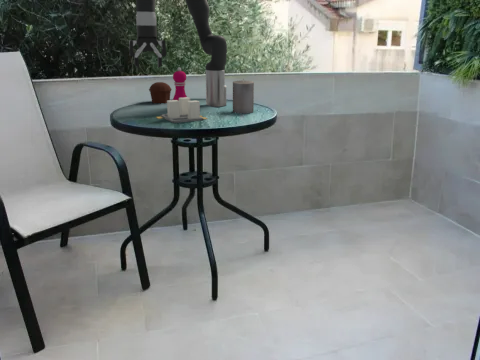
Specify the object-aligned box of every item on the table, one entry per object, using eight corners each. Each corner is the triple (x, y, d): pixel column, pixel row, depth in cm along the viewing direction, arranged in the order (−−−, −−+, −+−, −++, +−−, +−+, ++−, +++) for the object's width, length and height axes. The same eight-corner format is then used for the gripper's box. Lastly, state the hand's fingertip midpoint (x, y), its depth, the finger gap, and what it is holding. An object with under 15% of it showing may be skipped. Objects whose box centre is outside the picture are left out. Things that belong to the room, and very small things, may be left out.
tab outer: (196, 118, 192) (196, 100, 190) (199, 119, 190) (199, 101, 187) (187, 119, 191) (187, 101, 188) (190, 120, 188) (190, 102, 185)
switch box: (196, 115, 204) (196, 111, 203) (210, 121, 191) (210, 117, 191) (152, 119, 195) (152, 115, 194) (165, 126, 182) (164, 121, 182)
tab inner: (187, 114, 200) (187, 97, 198) (190, 115, 198) (190, 98, 195) (179, 115, 199) (178, 97, 196) (182, 116, 196) (181, 98, 193)
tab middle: (176, 117, 193) (176, 99, 191) (179, 119, 191) (179, 101, 188) (167, 118, 191) (167, 100, 189) (170, 120, 189) (169, 101, 186)
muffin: (176, 101, 238) (176, 82, 235) (162, 104, 229) (161, 84, 226) (159, 99, 244) (158, 80, 241) (144, 102, 235) (143, 82, 232)
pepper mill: (191, 111, 214) (190, 67, 207) (184, 113, 207) (183, 68, 201) (177, 110, 216) (175, 66, 209) (170, 112, 209) (168, 67, 203)
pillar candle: (236, 109, 219) (236, 77, 214) (256, 110, 216) (256, 78, 211) (229, 113, 211) (229, 79, 206) (249, 114, 208) (250, 80, 203)
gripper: (162, 24, 184) (164, 66, 189) (126, 24, 179) (128, 66, 185) (166, 24, 177) (168, 68, 183) (129, 24, 173) (131, 68, 178)
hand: (148, 67), depth 184 cm, fingers open, 8 cm apart
